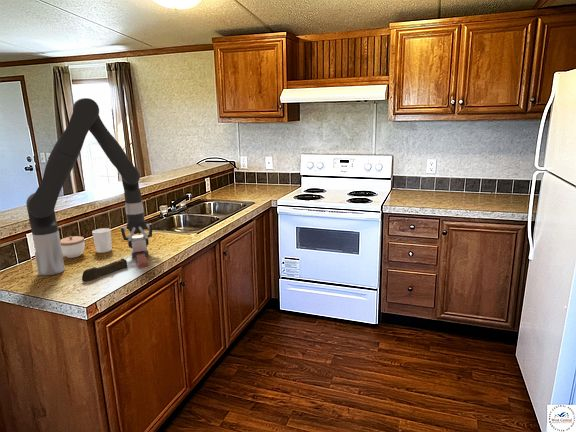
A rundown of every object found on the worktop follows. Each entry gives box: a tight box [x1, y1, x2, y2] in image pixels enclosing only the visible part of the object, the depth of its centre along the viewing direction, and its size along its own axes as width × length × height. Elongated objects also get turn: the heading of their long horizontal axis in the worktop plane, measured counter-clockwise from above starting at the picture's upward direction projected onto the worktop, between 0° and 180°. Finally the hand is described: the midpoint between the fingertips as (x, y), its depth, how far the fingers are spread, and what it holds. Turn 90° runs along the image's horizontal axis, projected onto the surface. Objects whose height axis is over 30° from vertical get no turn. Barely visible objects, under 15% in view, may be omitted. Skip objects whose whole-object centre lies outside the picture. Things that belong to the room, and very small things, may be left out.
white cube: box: [131, 234, 148, 252], centre depth 184 cm, size 6×6×6 cm
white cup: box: [91, 227, 113, 254], centre depth 190 cm, size 8×8×10 cm
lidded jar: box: [60, 235, 86, 259], centre depth 184 cm, size 11×11×9 cm
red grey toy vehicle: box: [130, 246, 149, 269], centre depth 178 cm, size 7×21×5 cm, turn 25°
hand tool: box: [81, 258, 128, 283], centre depth 163 cm, size 19×4×5 cm, turn 144°
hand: (139, 246), depth 184 cm, fingers closed on white cube, 6 cm apart
